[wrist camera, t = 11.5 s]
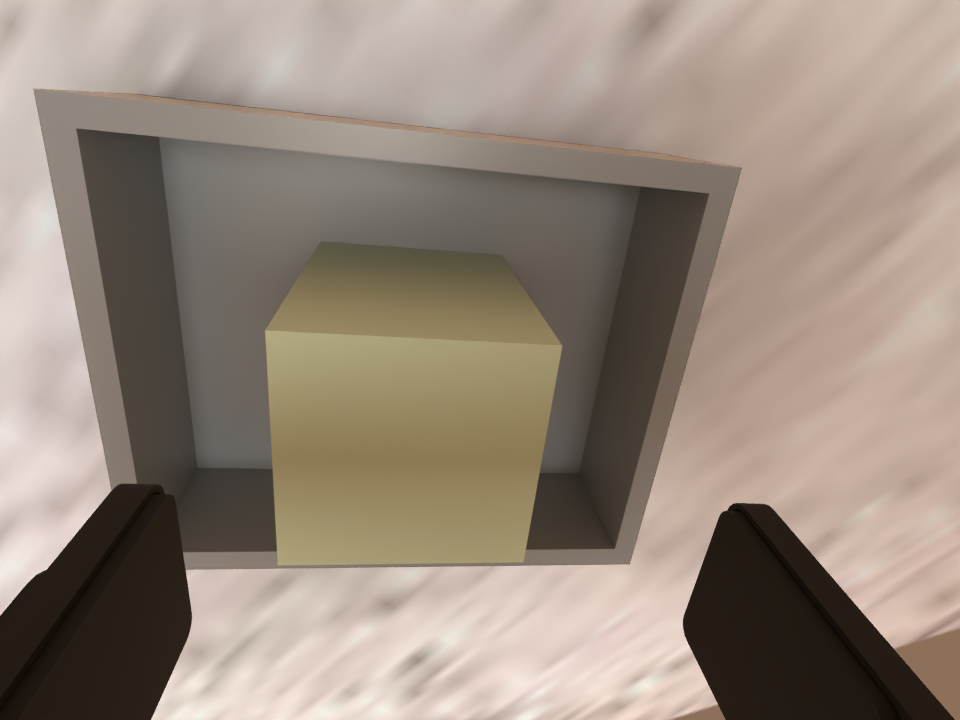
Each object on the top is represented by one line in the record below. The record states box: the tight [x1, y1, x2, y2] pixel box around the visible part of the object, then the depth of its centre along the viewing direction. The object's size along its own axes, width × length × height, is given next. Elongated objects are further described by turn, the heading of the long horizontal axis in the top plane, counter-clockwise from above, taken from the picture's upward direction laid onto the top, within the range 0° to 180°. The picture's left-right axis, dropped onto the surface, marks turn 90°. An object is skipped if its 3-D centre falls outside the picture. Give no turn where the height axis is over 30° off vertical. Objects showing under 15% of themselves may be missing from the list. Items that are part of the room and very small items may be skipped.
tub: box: [34, 89, 742, 570], centre depth 18 cm, size 16×13×5 cm
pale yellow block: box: [265, 241, 562, 566], centre depth 16 cm, size 6×6×8 cm
